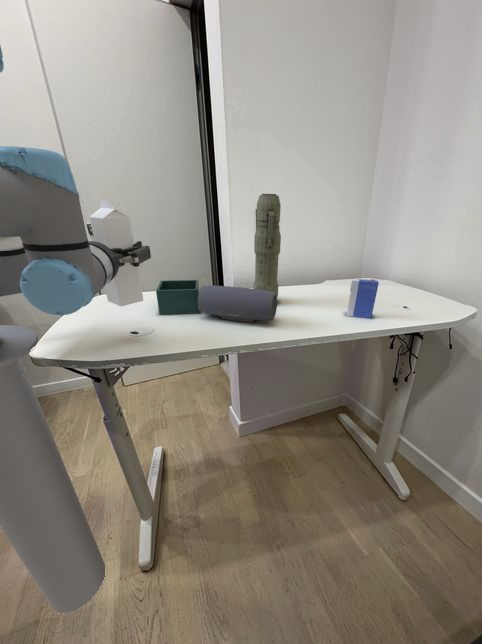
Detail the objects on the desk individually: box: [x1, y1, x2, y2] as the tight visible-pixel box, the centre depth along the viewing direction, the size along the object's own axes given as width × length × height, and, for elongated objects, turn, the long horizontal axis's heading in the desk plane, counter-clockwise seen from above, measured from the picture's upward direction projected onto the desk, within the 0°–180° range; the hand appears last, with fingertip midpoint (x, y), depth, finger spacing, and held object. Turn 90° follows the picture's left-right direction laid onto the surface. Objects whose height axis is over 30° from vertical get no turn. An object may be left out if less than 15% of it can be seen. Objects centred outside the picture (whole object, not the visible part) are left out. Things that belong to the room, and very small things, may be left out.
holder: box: [155, 279, 201, 316], centre depth 97 cm, size 13×13×8 cm
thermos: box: [253, 193, 282, 297], centre depth 99 cm, size 9×12×35 cm
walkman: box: [346, 278, 380, 319], centre depth 94 cm, size 8×3×12 cm, turn 76°
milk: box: [88, 199, 144, 307], centre depth 66 cm, size 6×6×22 cm
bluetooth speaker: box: [198, 284, 278, 323], centre depth 88 cm, size 23×9×10 cm, turn 76°
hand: (120, 247), depth 70 cm, fingers closed on milk, 8 cm apart
